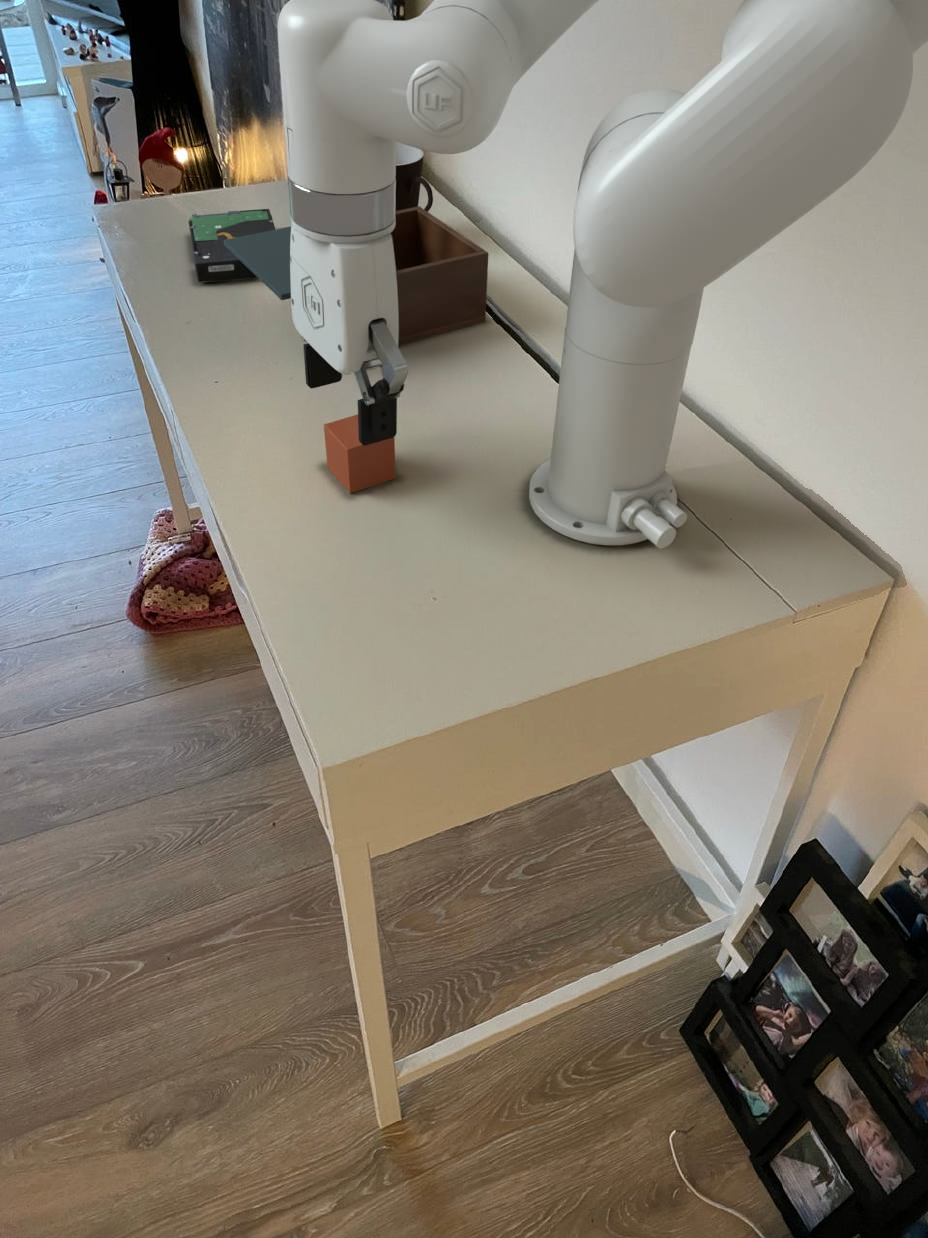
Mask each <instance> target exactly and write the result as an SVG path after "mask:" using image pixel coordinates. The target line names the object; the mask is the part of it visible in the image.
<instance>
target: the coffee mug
mask: <svg viewBox="0 0 928 1238" xmlns="http://www.w3.org/2000/svg"><path fill="white" fill-rule="evenodd" d="M424 156H425V155H424V150H421V149H418V148H415V147H411V146H408V145H405V144H402V143H399V142H396V176H395V177H396V211H399V210H404V209H409V208H413V207H418V206H419V203H420V193H421V185H422V187H424V189H425V192H426V194H427V203H426V205H425V207H424V208H423V209H424V210H425V211H427V212H428V213H429V211H430V210H431V208H432V206H433V203H434V197H433V196H434V195H433V189H432V186H431V185H430V184H429V182H428V181H427V180H426V179H425V178H423V176H422V174H423V166H424V165H423V164H424Z"/></svg>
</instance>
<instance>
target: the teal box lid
mask: <svg viewBox="0 0 928 1238" xmlns="http://www.w3.org/2000/svg"><path fill="white" fill-rule="evenodd" d="M290 236H291V226H286V227H280V228H275V230H271V231H266V232H261V233H256V234H251V235H246V236H241V237H236V238H231V239H226V240H224V246H225V247H226V248H228V249H229V250H230V251H231V252H232V253H233V254H234V255H235V256H236V257H237V258H238V259H239V260H240V261H241V262H242V263H243V264H244V265H245V266H246V267H247V268H248V269H249V270H251V271H252V272H253V273H254V274H255V275H256V276H257V277H258V278H257V279H259V280H260V281H261V282H262V283H263V284H264V285H265V286H266V287H267V288H268V289H269V290H270V291H271V292H272V293H273V294H274V295H275V296H276V297H278V299H280V301H285V300H289V299H290V300H291V282H290ZM396 274H397V268H396Z"/></svg>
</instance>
